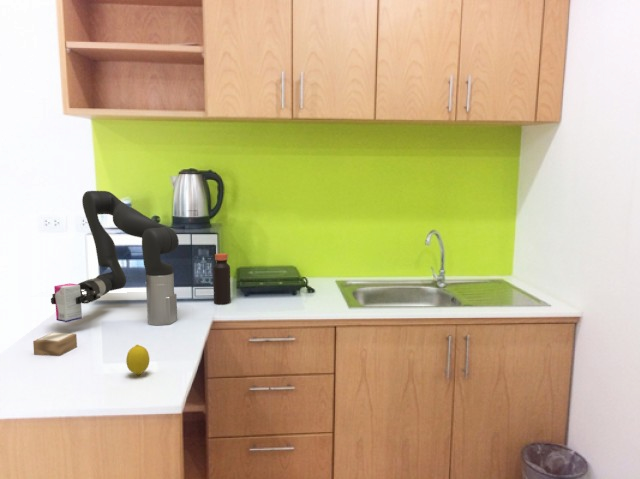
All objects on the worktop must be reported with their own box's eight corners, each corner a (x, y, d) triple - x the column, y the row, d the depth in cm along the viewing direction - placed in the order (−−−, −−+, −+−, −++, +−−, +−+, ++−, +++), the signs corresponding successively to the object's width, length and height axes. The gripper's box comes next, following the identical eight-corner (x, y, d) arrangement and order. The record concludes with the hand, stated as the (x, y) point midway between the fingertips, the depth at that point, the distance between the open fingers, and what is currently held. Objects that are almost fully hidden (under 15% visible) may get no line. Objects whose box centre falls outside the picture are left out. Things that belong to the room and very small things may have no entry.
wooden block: (77, 346, 151) (76, 333, 151) (59, 356, 143) (58, 341, 143) (52, 345, 152) (51, 332, 152) (34, 354, 145) (33, 340, 144)
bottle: (224, 300, 211) (223, 252, 208) (234, 302, 206) (233, 254, 204) (210, 302, 206) (209, 254, 204) (219, 305, 201) (218, 256, 199)
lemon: (130, 371, 132) (129, 341, 131) (152, 370, 133) (151, 341, 132) (124, 379, 127) (122, 348, 126) (146, 378, 127) (145, 348, 126)
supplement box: (83, 318, 167) (80, 284, 166) (65, 322, 162) (63, 287, 161) (72, 316, 170) (70, 282, 169) (55, 320, 165) (52, 285, 164)
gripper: (69, 280, 179) (42, 289, 163) (109, 279, 179) (85, 289, 162) (71, 300, 180) (44, 312, 164) (110, 300, 180) (87, 312, 163)
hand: (64, 301), depth 163 cm, fingers closed on supplement box, 7 cm apart
